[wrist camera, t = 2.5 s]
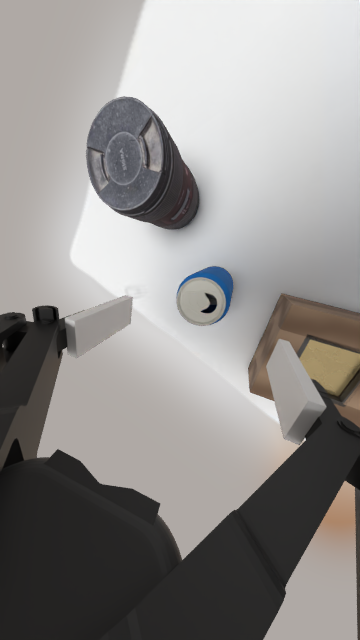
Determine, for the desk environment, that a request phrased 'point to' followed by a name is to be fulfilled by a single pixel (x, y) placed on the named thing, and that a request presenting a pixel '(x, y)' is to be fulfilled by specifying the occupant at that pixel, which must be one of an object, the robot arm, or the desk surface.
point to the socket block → (299, 328)
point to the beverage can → (205, 296)
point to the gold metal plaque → (330, 365)
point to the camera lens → (139, 166)
